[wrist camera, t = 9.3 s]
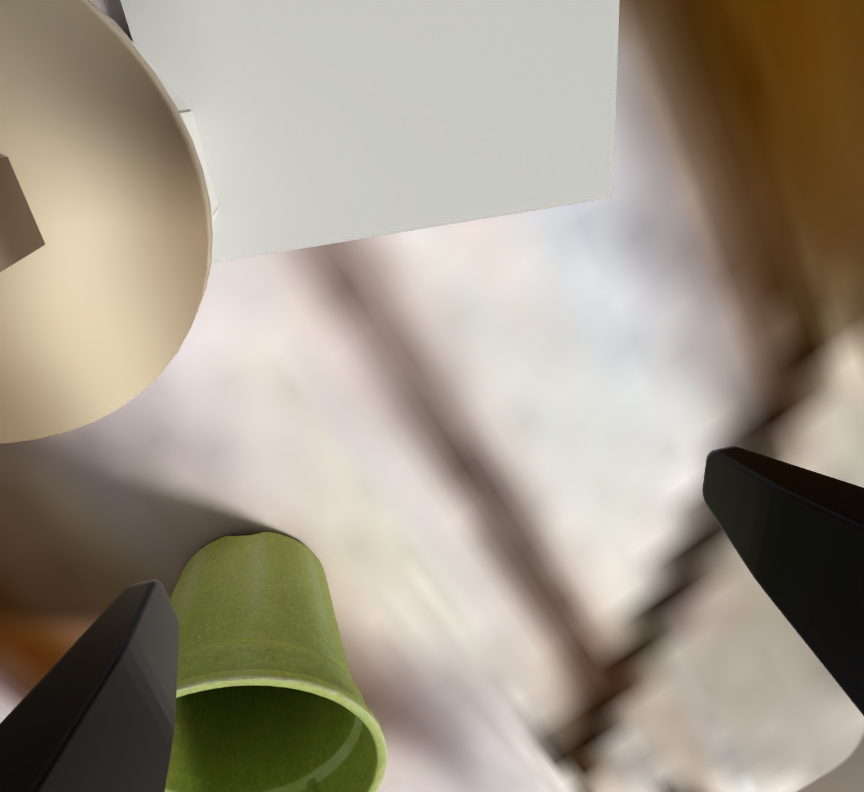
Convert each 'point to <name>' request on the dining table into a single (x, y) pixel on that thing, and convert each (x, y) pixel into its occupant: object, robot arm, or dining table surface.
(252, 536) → the plant pot
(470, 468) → the dining table surface
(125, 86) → the lid
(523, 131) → the mat
